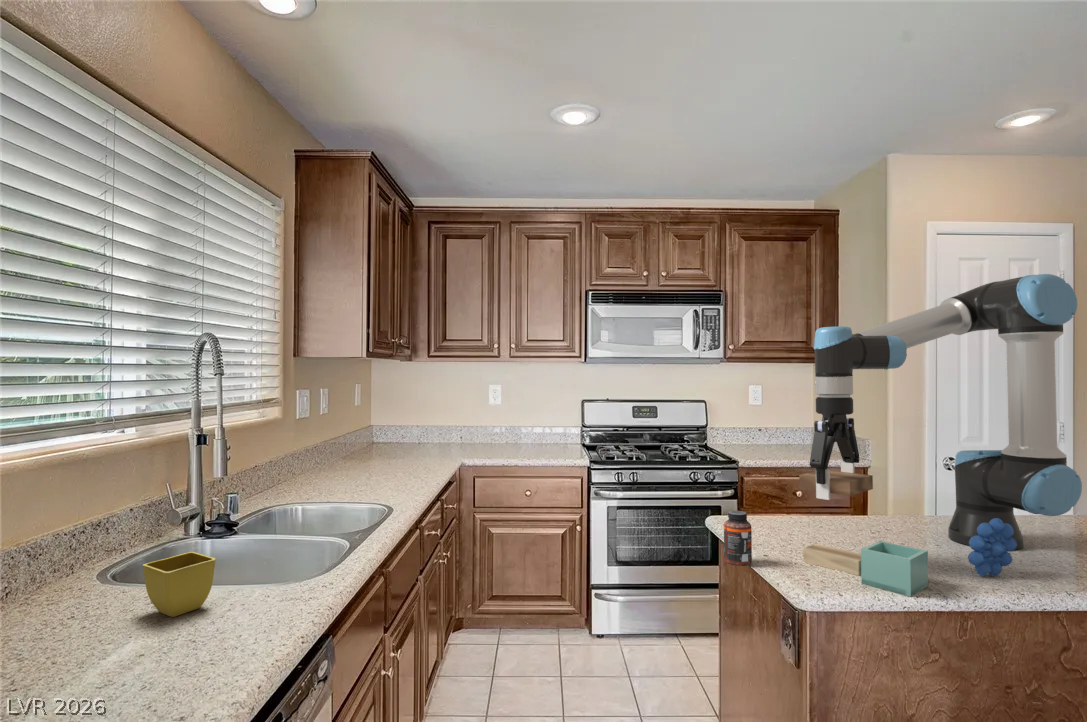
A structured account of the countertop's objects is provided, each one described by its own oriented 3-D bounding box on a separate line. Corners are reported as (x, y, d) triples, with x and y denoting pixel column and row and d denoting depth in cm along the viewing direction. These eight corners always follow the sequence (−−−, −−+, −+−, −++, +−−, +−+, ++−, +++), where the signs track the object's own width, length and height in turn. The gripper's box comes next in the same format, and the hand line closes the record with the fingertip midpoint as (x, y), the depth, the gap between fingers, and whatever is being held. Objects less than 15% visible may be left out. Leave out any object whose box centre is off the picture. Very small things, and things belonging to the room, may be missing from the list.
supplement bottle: (753, 567, 130) (753, 516, 131) (725, 566, 131) (725, 514, 132) (749, 559, 136) (749, 509, 136) (722, 557, 137) (722, 508, 138)
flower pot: (165, 624, 102) (166, 572, 102) (141, 614, 107) (141, 563, 107) (216, 607, 110) (217, 558, 110) (191, 598, 114) (191, 551, 114)
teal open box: (880, 574, 126) (879, 540, 126) (928, 585, 119) (927, 550, 119) (861, 583, 120) (861, 549, 120) (910, 596, 113) (910, 559, 113)
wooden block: (816, 556, 138) (816, 543, 138) (871, 569, 129) (870, 555, 129) (803, 561, 134) (803, 548, 134) (858, 575, 125) (858, 561, 125)
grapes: (995, 567, 130) (994, 512, 130) (1026, 577, 124) (1025, 519, 124) (951, 571, 127) (950, 515, 128) (981, 582, 121) (980, 522, 121)
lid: (823, 482, 140) (823, 469, 140) (872, 489, 131) (872, 475, 131) (799, 488, 133) (799, 474, 133) (850, 496, 124) (849, 481, 124)
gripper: (841, 394, 142) (843, 485, 142) (790, 397, 128) (792, 499, 127) (874, 394, 137) (876, 490, 136) (825, 398, 122) (827, 505, 122)
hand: (836, 495), depth 132 cm, fingers closed on lid, 11 cm apart
